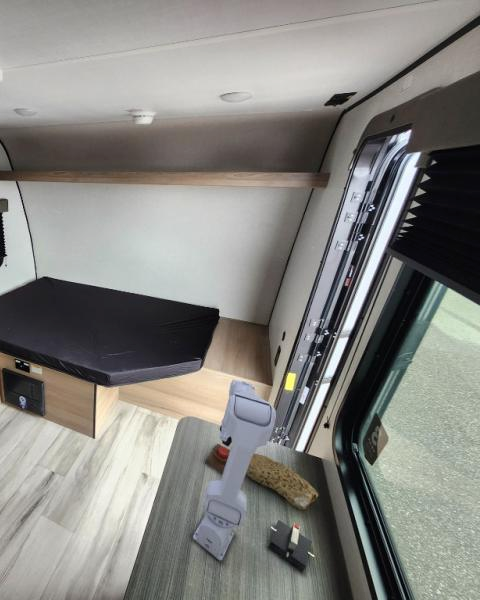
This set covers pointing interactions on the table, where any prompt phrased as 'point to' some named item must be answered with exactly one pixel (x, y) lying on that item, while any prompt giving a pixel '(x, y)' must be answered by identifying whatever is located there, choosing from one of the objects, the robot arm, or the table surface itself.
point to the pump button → (223, 452)
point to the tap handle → (293, 537)
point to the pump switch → (217, 460)
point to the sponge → (281, 480)
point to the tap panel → (281, 543)
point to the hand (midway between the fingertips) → (225, 443)
